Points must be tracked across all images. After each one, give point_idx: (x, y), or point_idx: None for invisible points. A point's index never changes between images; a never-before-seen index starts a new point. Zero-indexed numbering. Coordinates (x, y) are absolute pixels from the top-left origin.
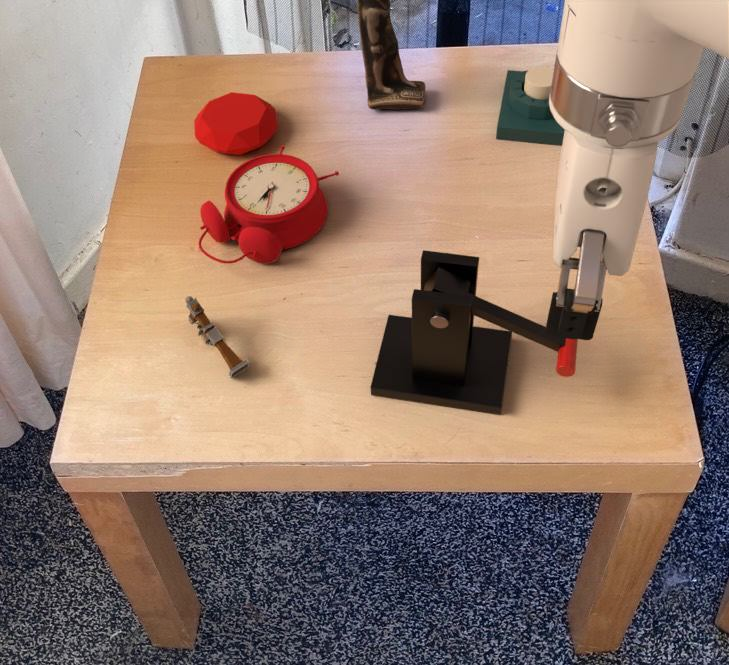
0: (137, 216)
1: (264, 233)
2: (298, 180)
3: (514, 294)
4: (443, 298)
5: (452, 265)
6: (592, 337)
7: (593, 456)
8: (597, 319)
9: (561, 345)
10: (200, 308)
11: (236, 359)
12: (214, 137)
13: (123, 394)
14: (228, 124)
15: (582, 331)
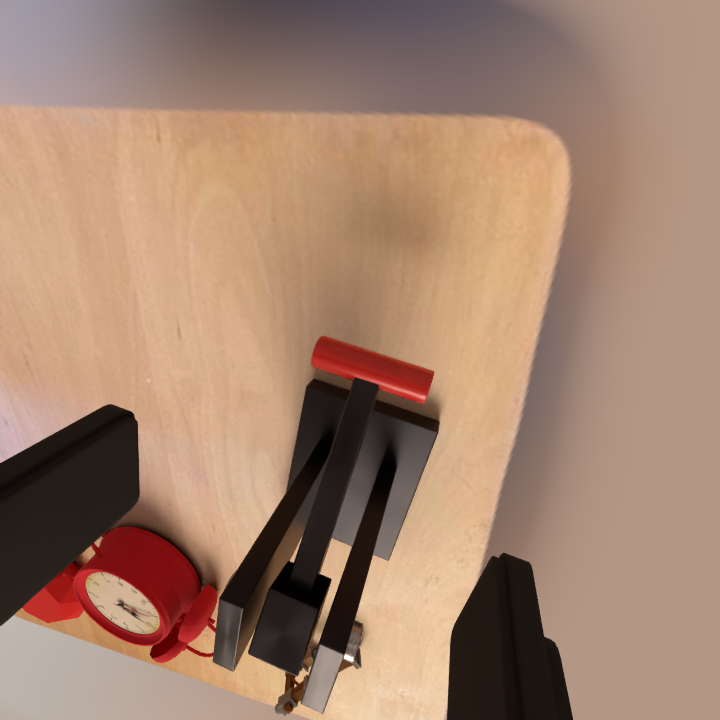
0: (175, 660)
1: (185, 630)
2: (105, 580)
3: (237, 354)
4: (322, 678)
5: (242, 632)
6: (532, 571)
7: (537, 310)
8: (551, 681)
9: (377, 392)
10: (289, 701)
11: (344, 660)
12: (70, 614)
13: (371, 714)
14: (49, 606)
15: (565, 686)
